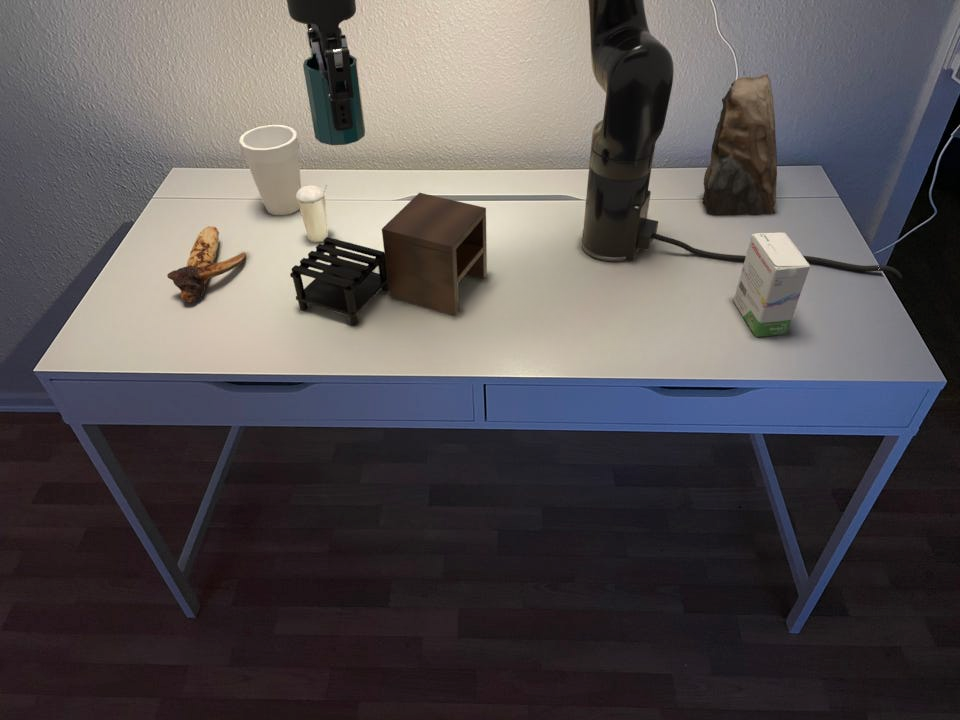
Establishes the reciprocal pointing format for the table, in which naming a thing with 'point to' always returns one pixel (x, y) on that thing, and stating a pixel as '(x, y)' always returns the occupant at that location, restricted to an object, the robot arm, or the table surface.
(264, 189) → the foam cup
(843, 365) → the table surface
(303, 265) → the rack
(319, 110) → the cup
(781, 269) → the ink box
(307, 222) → the milkshake
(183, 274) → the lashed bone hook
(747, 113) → the tall brown rock
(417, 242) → the shelf
